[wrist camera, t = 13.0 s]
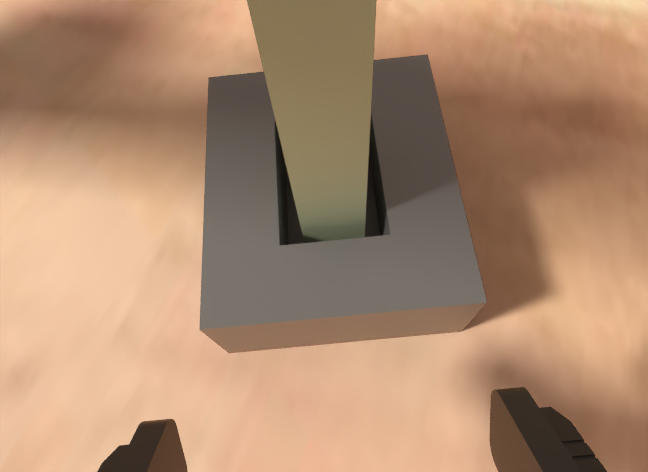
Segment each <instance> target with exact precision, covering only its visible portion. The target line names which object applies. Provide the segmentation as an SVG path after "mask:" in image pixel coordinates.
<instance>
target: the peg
mask: <svg viewBox="0 0 648 472" xmlns="http://www.w3.org/2000/svg"><path fill="white" fill-rule="evenodd" d="M247 2H248V7H249V11H250V15H251V19H252V24H253V28H254V32H255V36H256V40H257V45H258V49H259V53H260V57H261V62H262V66H263V70H264V74H265V78H266V83H267V87H268V91H269V95H270V100H271V104H272V108H273V112H274V117H275V121H276V125H277V129H278V133H279V138H280V142H281V146H282V150H283V155H284V159H285V163H286V167H287V171H288V176H289V180H290V184H291V188H292V193H293V197H294V201H295V205H296V209H297V214H298V218H299V222H300V226H301V231H302V235H303V239H304V243H311V242H321V241H332V240H342V239H352V238H362V237H365V220H366V200H367V180H368V160H369V139H370V119H371V99H372V79H373V59H374V38H375V18H376V0H247Z"/></svg>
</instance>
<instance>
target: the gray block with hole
mask: <svg viewBox="0 0 648 472" xmlns="http://www.w3.org/2000/svg"><path fill="white" fill-rule="evenodd" d="M486 303H487V300H486V296H485V292H484V288H483V284H482V280H481V275H480V271H479V267H478V263H477V259H476V255H475V250H474V246H473V242H472V238H471V234H470V230H469V225H468V221H467V217H466V213H465V209H464V205H463V200H462V196H461V192H460V188H459V184H458V180H457V175H456V171H455V167H454V163H453V159H452V155H451V150H450V146H449V142H448V138H447V134H446V130H445V125H444V121H443V117H442V113H441V109H440V104H439V100H438V96H437V92H436V88H435V84H434V79H433V75H432V71H431V67H430V63H429V59H428V55H419V56H410V57H400V58H391V59H381V60H373V79H372V99H371V119H370V139H369V160H368V180H367V200H366V220H365V237H362V238H352V239H342V240H332V241H321V242H311V243H304V239H303V235H302V231H301V226H300V222H299V218H298V214H297V209H296V205H295V201H294V197H293V193H292V188H291V184H290V180H289V176H288V171H287V167H286V163H285V159H284V155H283V150H282V146H281V142H280V138H279V133H278V129H277V125H276V121H275V117H274V112H273V108H272V104H271V100H270V95H269V91H268V87H267V83H266V78H265V74H264V72H257V73H247V74H238V75H228V76H219V77H209V84H208V112H207V139H206V167H205V195H204V223H203V251H202V278H201V306H200V330H201V331H202V332H203V333H204V334H206V335H207V336H208V337H209V338H211V339H212V340H213V341H214V342H216V343H217V344H218V345H219V346H221V347H222V348H223V349H224V350H226V351H227V352H228V353H235V352H246V351H256V350H267V349H278V348H289V347H299V346H310V345H321V344H331V343H342V342H353V341H364V340H374V339H385V338H396V337H407V336H417V335H428V334H439V333H449V332H460V331H462V330H463V329H464V328H465V327H466V326H467V325H468V324H469V322H470V321H471V320H472V319H473V318H474V317H475V316H476V315H477V313H478V312H479V311H480V310H481V309H482V308H483V307H484V306H485V304H486Z"/></svg>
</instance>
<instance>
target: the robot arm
mask: <svg viewBox="0 0 648 472" xmlns="http://www.w3.org/2000/svg"><path fill="white" fill-rule="evenodd" d="M490 446H491V452H492V456H493V459H494V462H495V465H496V467H497V469H498V472H607V471H606V469H605V468H604V467H603V465H602V464H601V463H600V461H599V460H598V458H595V454H594V453H593V452H592V450H591V449H590V447H589V446H588V445H587V443H584V439H583V438H582V436H581V435H580V434H579V432H578V431H577V430H576V428H575V427H574V426H573V424H572V423H571V421H569V420H568V419H567V418H565V417H564V416H562V415H561V414H560V413H558V412H557V411H556V410H554V409H553V408H552V407H545V408H539V407H538V406H537V404H536V403H535V401H534V400H533V398H532V397H531V395H530V394H529V392H528V391H527V390H526V389H525V388H524V387H520V388H509V389H498V390H493V391H492V393H491V412H490ZM98 472H187V465H186V461H185V457H184V453H183V449H182V445H181V441H180V438H179V434H178V430H177V426H176V423H175V421H174V420H173V419H165V420H154V421H144V422H141V423H140V424H139V426H138V428H137V430H136V432H135V434H134V436H133V438H132V440H131V442H130V444H129V445H121V446H119V447H118V448H117V449H116V450H115V451H114V452H113V453H112V454H111V455H110V456H109V457H108V458H107V459H106V460H105V461H104V462H103V463H102V464H101V466H100V468H99V470H98Z"/></svg>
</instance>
